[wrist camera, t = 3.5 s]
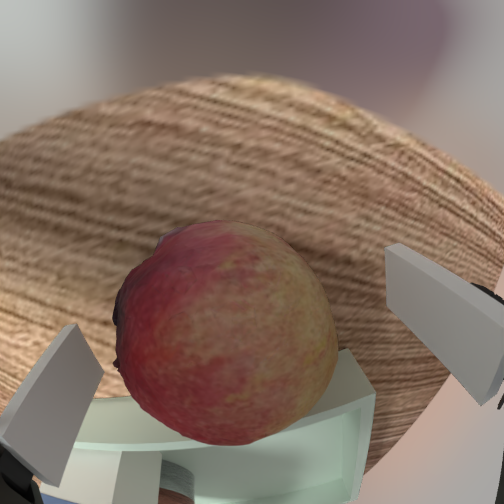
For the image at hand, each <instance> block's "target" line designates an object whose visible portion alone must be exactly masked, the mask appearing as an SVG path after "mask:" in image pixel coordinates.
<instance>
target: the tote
mask: <svg viewBox="0 0 504 504" xmlns="http://www.w3.org/2000/svg"><path fill="white" fill-rule="evenodd" d="M375 399H376V391H375V390H374V388H373V386H372V385H371V383H370V382H369V380H368V378H367V377H366V375H365V374H364V372H363V371H362V369H361V367H360V366H359V364H358V363H357V361H356V360H355V358H354V356H353V355H352V353H351V352H350V350H349V349H348V348H346V349H344V350H341V351H338V361H337V364H336V367H335V370H334V373H333V376H332V379H331V381H330V383H329V385H328V387H327V389H326V391H325V392H324V394H323V395H322V397H321V398H320V399H319V401H318V402H317V403H316V404H315V405H314V407H313V408H312V409H311V410H310V411H309V412H308V414H307V415H305V416H304V417H303V418H301V419H300V420H298V421H297V422H295V423H293V424H292V425H290V426H289V427H287V428H286V429H284V430H282V431H280V432H278V433H276V434H273V435H271V436H268V437H265V438H263V439H260V440H258V441H255V442H253V443H251V444H248V445H241V446H218V445H208V444H205V443H201V442H198V441H195V440H193V439H190V438H187V437H184V436H182V435H181V434H180V433H178V432H176V431H174V430H172V429H170V428H168V427H167V426H165V425H164V424H163V423H162V422H159V421H158V420H157V419H155V418H153V417H152V416H151V415H150V414H148V413H147V412H145V411H143V410H142V409H141V408H140V405H139V404H138V403H137V402H136V401H135V400H134V399H133V398H132V396H128V397H115V398H99V399H92V401H91V404H90V406H89V408H88V411H87V413H86V415H85V418H84V420H83V423H82V425H81V428H80V430H79V433H78V435H77V438H76V441H75V443H74V446H73V448H80V449H91V450H107V451H159V452H160V453H161V454H162V459H163V460H166V461H170V462H173V463H175V464H178V465H180V466H182V467H184V468H186V469H187V470H189V471H190V472H191V473H192V474H193V475H194V478H195V504H345V503H348V502H351V501H354V500H357V499H358V495H359V491H360V487H361V483H362V478H363V474H364V469H365V464H366V459H367V454H368V449H369V443H370V437H371V430H372V423H373V416H374V408H375Z"/></svg>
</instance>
